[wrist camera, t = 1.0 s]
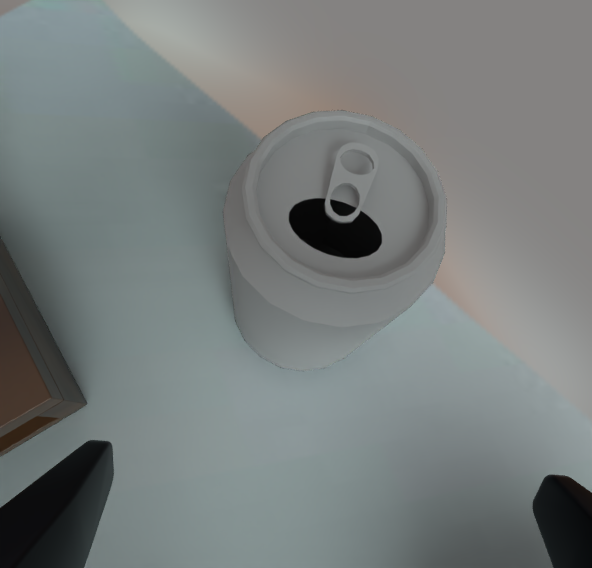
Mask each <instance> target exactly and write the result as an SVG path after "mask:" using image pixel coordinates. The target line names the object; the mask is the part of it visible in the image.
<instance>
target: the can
mask: <svg viewBox="0 0 592 568" xmlns="http://www.w3.org/2000/svg"><path fill="white" fill-rule="evenodd" d="M446 214H447V198H446V195H445V192H444V189H443V185H442V182H441V179H440V176H439V173H438V171H437V170H436V168H435V167H434V165H433V164H432V162H431V161H430V159H429V158H428V157H427V155H426V154H425V152H424V151H423V150H422V148H421V147H420V146H418V145H417V144H416V143H415V142H414V141H412V140H411V139H410V138H409V137H408V136H406V135H405V134H404V133H403V132H402V131H400V130H399V129H398V128H395V127H393V126H391V125H389V124H387V123H385V122H383V121H381V120H379V119H377V118H375V117H372V116H368V115H363V114H358V113H354V112H348V111H344V110H337V111H320V112H311V113H308V114H305V115H302V116H300V117H297V118H294V119H290V120H288V121H285V122H284V123H283V124H281V125H280V126H279V127H277V128H276V129H275V130H273V131H272V132H270V133H269V134H268V135H266V136H265V137H264V138H263V139H262V141H261V142H260V144H259V145H258V146H257V148H256V149H255V150H254V151H253V152H252V153H250V154H249V155H248V156H247V157H246V159H245V160H244V162H243V163H242V164H241V166H240V167H239V169H238V170H237V172H236V173H235V175H234V176H233V178H232V179H231V181H230V184H229V188H228V192H227V196H226V201H225V205H224V209H223V218H224V227H225V235H226V244H227V253H228V262H229V271H230V280H231V289H232V297H233V306H234V314H235V321H236V323H237V325H238V328H239V330H240V332H241V334H242V336H243V338H244V340H245V341H246V342H247V343H248V345H249V346H250V347H251V348H252V349H253V350H254V351H255V352H256V353H257V354H258V355H259V356H260V357H262V358H263V359H265V360H267V361H269V362H271V363H273V364H275V365H277V366H279V367H281V368H286V369H292V370H298V371H310V370H316V369H323V368H327V367H329V366H330V365H332V364H334V363H336V362H338V361H340V360H342V359H344V358H346V357H347V356H348V355H349V354H351V353H352V352H353V351H355V350H356V349H357V348H358V347H360V346H361V345H362V344H363V343H365V342H366V341H367V340H369V339H370V338H371V337H372V336H374V335H375V334H376V333H378V332H379V331H380V330H381V329H383V328H384V327H385V326H386V325H388V324H389V323H390V322H392V321H393V320H394V319H395V318H397V317H398V316H399V315H401V314H402V313H403V312H404V311H406V310H407V309H408V308H410V307H411V306H412V305H413V304H414V302H415V301H416V300H417V299H418V298H419V297H420V296H421V295H422V294H423V293H424V292H425V291H426V290H427V288H428V287H429V286H430V285H431V284H432V283H433V281H434V279H435V276H436V274H437V271H438V269H439V266H440V264H441V261H442V259H443V256H444V254H445V229H446Z"/></svg>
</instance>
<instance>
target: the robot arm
mask: <svg viewBox="0 0 592 568" xmlns="http://www.w3.org/2000/svg"><path fill="white" fill-rule="evenodd" d="M113 476H114V467H113V449H112V444H111V443H110V442H108V441H98V440H90V441H88V442H86V443H84V444H83V445H82V446H81V447H79V448H78V449H77V450H75V451H74V452H73V453H71V454H70V455H69V456H67V457H66V458H65V459H64V460H62V461H61V462H60V463H58V464H57V465H56V466H54V467H53V468H52V469H51V470H49V471H48V472H47V473H45V474H44V475H43V476H41V477H40V478H39V479H38V480H36V481H35V482H34V483H32V484H31V485H30V486H28V487H27V488H26V489H24V490H23V491H22V492H21V493H19V494H18V495H17V496H15V497H14V498H13V499H11V500H10V501H9V502H8V503H6V504H5V505H4V506H2V507H1V508H0V568H84V566H85V563H86V560H87V557H88V555H89V552H90V549H91V546H92V543H93V540H94V537H95V534H96V531H97V527H98V524H99V521H100V518H101V515H102V512H103V509H104V506H105V503H106V500H107V497H108V494H109V491H110V488H111V485H112V481H113ZM533 513H534V516H535V519H536V521H537V524H538V527H539V530H540V532H541V535H542V538H543V540H544V543H545V546H546V548H547V551H548V554H549V556H550V559H551V562H552V565H553V567H554V568H592V493H591V492H590V491H588V490H587V489H586V488H584V487H583V486H581V485H580V484H579V483H577V482H576V481H574V480H573V479H572V478H570V477H568V476H563V475H547V476H546V477H545V478H544V479H543V482H542V484H541V486H540V488H539V490H538V492H537V494H536V496H535V498H534V500H533Z"/></svg>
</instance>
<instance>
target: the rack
mask: <svg viewBox="0 0 592 568" xmlns="http://www.w3.org/2000/svg"><path fill="white" fill-rule="evenodd" d="M86 405H87V403H86V401H85V399H84V397H83V395H82V393H81V391H80V389H79V387H78V385H77V384H76V382H75V380H74V378H73V376H72V374H71V372H70V370H69V368H68V366H67V364H66V362H65V360H64V358H63V356H62V355H61V353H60V351H59V349H58V347H57V345H56V343H55V341H54V339H53V337H52V335H51V333H50V331H49V329H48V327H47V326H46V324H45V322H44V320H43V318H42V316H41V314H40V312H39V310H38V308H37V306H36V304H35V302H34V300H33V298H32V297H31V295H30V293H29V291H28V289H27V287H26V285H25V283H24V281H23V279H22V277H21V275H20V273H19V271H18V269H17V268H16V266H15V264H14V262H13V260H12V258H11V256H10V254H9V252H8V250H7V248H6V246H5V244H4V242H3V240H2V239H1V237H0V457H1V456H3V455H4V454H6V453H8V452H9V451H11V450H13V449H14V448H16V447H18V446H19V445H21V444H23V443H24V442H26V441H27V440H29V439H31V438H32V437H34V436H36V435H37V434H39V433H41V432H42V431H44V430H46V429H47V428H49V427H51V426H52V425H54V424H56V423H57V422H59V421H61V420H62V419H63V418H66V417H67V416H69V415H71V414H72V413H74V412H76V411H77V410H79V409H81V408H82V407H84V406H86Z"/></svg>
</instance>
